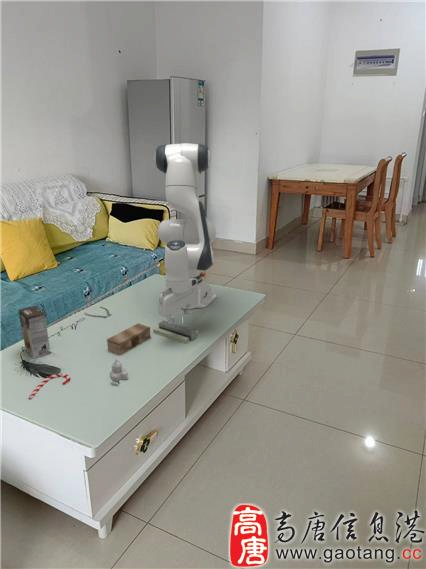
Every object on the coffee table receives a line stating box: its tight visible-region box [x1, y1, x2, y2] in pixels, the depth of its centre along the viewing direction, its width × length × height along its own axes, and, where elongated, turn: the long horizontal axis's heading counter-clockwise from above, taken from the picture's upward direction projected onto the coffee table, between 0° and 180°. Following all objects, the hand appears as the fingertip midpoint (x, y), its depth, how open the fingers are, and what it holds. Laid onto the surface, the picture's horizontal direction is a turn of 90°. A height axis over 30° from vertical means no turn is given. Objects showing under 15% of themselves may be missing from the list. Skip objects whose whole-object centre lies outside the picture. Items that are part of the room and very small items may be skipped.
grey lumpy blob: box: [109, 358, 129, 383], centre depth 139 cm, size 5×7×8 cm
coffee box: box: [18, 305, 51, 359], centre depth 156 cm, size 9×6×16 cm
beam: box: [106, 322, 152, 356], centre depth 160 cm, size 16×6×6 cm, turn 146°
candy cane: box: [28, 373, 71, 400], centre depth 137 cm, size 8×1×15 cm
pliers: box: [83, 306, 112, 319], centre depth 190 cm, size 10×1×20 cm
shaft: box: [157, 319, 197, 342], centre depth 168 cm, size 3×16×3 cm, turn 56°
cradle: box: [152, 327, 200, 344], centre depth 169 cm, size 8×16×3 cm, turn 56°
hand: (179, 318), depth 166 cm, fingers open, 8 cm apart
